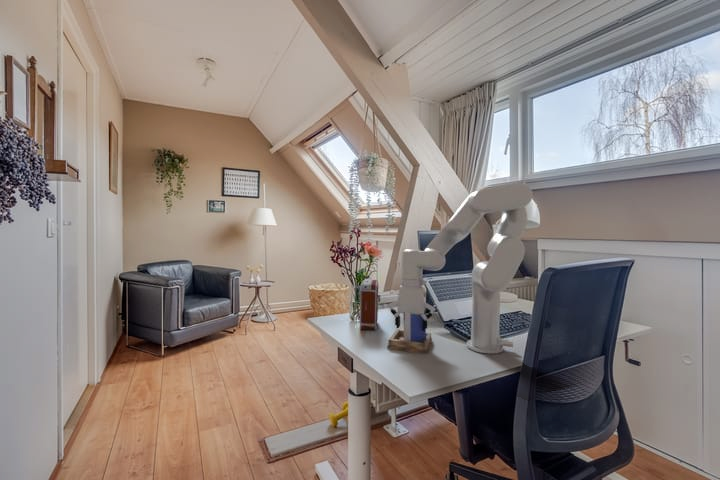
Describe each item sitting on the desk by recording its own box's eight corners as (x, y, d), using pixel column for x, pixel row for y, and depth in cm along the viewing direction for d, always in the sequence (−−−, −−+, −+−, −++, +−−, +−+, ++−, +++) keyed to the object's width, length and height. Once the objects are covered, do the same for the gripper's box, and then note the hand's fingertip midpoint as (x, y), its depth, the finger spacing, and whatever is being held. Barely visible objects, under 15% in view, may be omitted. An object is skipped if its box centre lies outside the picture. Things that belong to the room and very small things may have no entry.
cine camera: (380, 318, 159) (381, 277, 158) (378, 331, 140) (379, 284, 139) (361, 318, 160) (361, 276, 159) (356, 330, 140) (357, 283, 140)
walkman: (423, 339, 126) (423, 308, 126) (425, 342, 124) (425, 309, 123) (403, 340, 125) (402, 309, 125) (405, 343, 122) (404, 310, 122)
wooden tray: (431, 341, 129) (432, 332, 129) (426, 354, 116) (427, 344, 115) (396, 336, 133) (396, 328, 133) (387, 348, 120) (387, 339, 120)
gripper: (436, 282, 124) (435, 328, 125) (391, 279, 130) (390, 323, 131) (434, 286, 117) (433, 334, 118) (386, 282, 123) (385, 329, 124)
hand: (411, 328), depth 124 cm, fingers open, 9 cm apart
